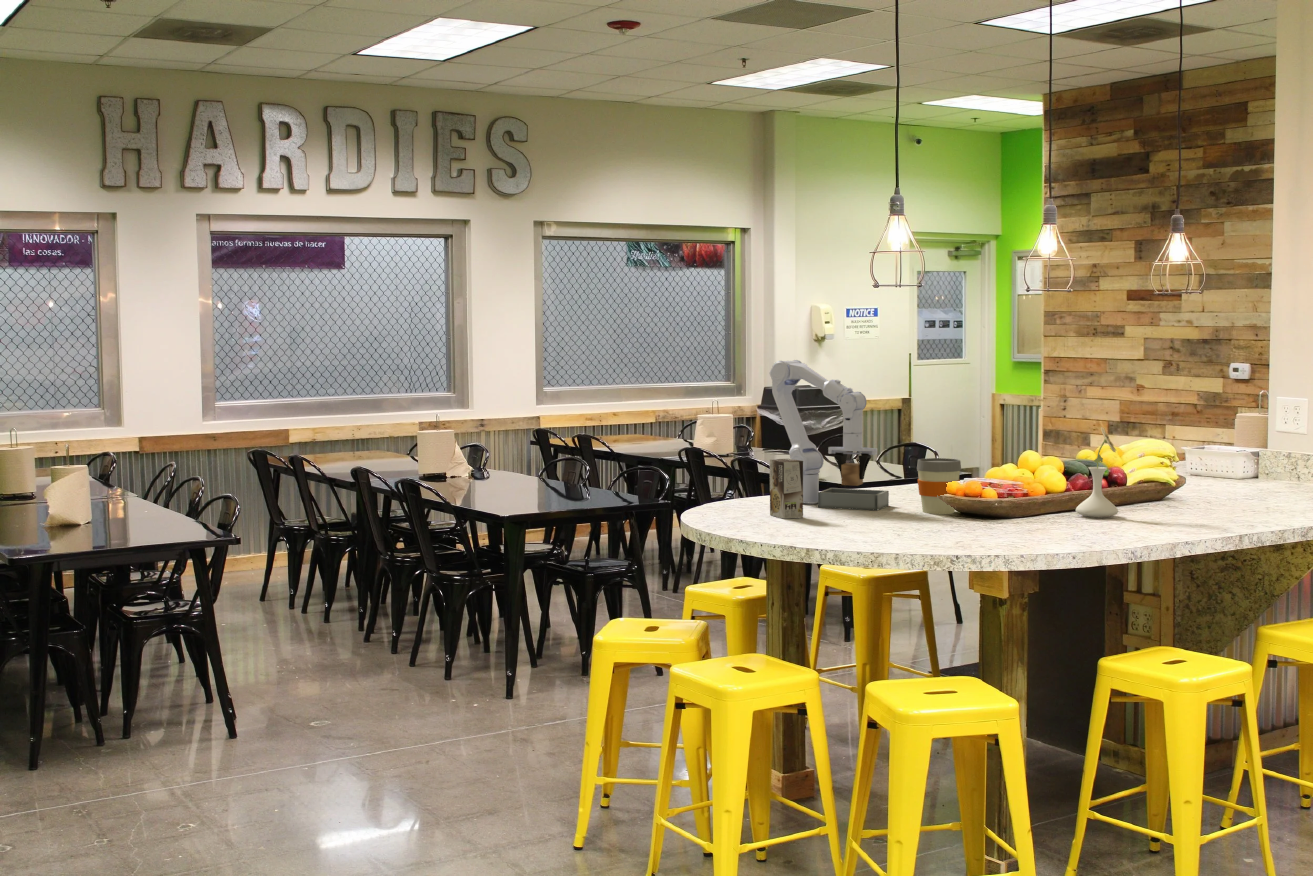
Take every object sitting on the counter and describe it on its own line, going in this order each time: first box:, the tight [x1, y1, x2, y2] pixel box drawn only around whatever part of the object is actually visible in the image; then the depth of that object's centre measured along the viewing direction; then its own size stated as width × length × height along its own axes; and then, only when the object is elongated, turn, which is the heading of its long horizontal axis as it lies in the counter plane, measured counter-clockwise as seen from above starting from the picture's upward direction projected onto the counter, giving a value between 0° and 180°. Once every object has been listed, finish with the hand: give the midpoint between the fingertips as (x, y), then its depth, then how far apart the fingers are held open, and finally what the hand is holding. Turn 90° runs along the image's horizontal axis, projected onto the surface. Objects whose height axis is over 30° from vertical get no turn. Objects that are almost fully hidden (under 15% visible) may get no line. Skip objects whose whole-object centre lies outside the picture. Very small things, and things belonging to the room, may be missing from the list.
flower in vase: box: [1075, 426, 1119, 518], centre depth 377 cm, size 13×11×25 cm
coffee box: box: [769, 458, 804, 520], centre depth 381 cm, size 9×6×16 cm
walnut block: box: [840, 462, 864, 487], centre depth 401 cm, size 5×5×6 cm
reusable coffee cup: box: [916, 457, 962, 515], centre depth 389 cm, size 13×13×15 cm
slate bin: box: [817, 487, 890, 511], centre depth 402 cm, size 18×12×4 cm, turn 65°
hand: (852, 478), depth 401 cm, fingers closed on walnut block, 5 cm apart
